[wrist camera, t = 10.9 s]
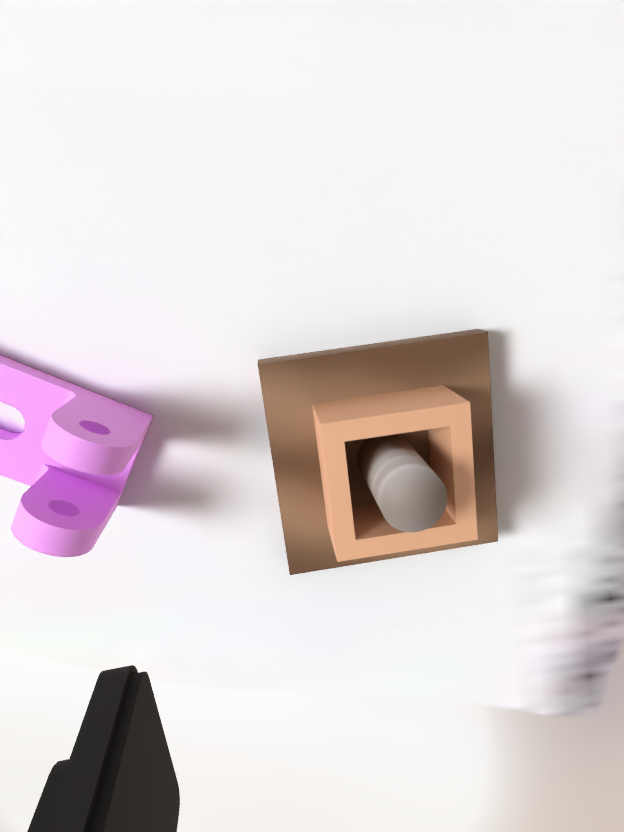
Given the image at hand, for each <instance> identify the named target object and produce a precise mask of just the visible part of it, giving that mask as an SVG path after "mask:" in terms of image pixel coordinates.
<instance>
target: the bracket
mask: <svg viewBox="0 0 624 832" xmlns="http://www.w3.org/2000/svg"><path fill="white" fill-rule="evenodd" d="M0 402H3V403H5V404H8V405H10V406H13V407H15V408H16V409H18V410H19V411H20V412H21V413H22V415H23V417H24V419H25V429H24V431H23V433H12V432H9V431H6V430H4V429H1V428H0V475H2V476H5V477H8V478H11V479H13V480H16V481H19V482H22V483H24V484H27V485H30V486H31V487H30V488H29V489H28V490H27V491H26V492H25V493H24V494H23V495H22V498H21V500H20V503H19V506H18V508H17V511H16V514H15V517H14V519H13V522H12V525H11V529H12V533H13V534H14V536H15V537H16V538H17V539H18V540H19V541H20V542H21V543H22V544H24V545H25V546H27V547H29V548H31V549H33V550H35V551H38V552H40V553H44V554H47V555H52V556H59V557H73V556H79V555H83V554H85V553H87V552H89V551H90V550H91V549H92V548H93V547H94V545H95V543H96V541H97V540H98V538H99V536H100V534H101V533H102V531H103V529H104V528H105V526H106V524H107V522H108V521H109V519H110V517H111V516H112V514H113V512H114V510H115V509H116V507H117V505H118V503H119V500H120V498H121V495H122V493H123V490H124V488H125V485H126V483H127V480H128V478H129V475H130V473H131V470H132V468H133V465H134V463H135V460H136V458H137V455H138V453H139V450H140V448H141V445H142V443H143V440H144V438H145V435H146V433H147V431H148V428H149V426H150V423H151V421H152V418H153V415H150V414H148V413H145V412H143V411H140V410H138V409H135V408H133V407H130V406H128V405H125V404H122V403H120V402H117V401H115V400H112V399H110V398H107V397H105V396H102V395H100V394H97V393H95V392H92V391H90V390H87V389H85V388H82V387H79V386H77V385H74V384H72V383H69V382H67V381H64V380H62V379H59V378H57V377H54V376H52V375H49V374H47V373H44V372H41V371H39V370H36V369H34V368H31V367H29V366H26V365H24V364H21V363H19V362H16V361H14V360H11V359H9V358H6V357H4V356H1V355H0Z"/></svg>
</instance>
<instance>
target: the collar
mask: <svg viewBox="0 0 624 832" xmlns="http://www.w3.org/2000/svg"><path fill="white" fill-rule="evenodd" d="M312 407H313V415H314V423H315V431H316V439H317V447H318V455H319V463H320V470H321V478H322V486H323V494H324V502H325V510H326V518H327V525H328V530H329V533H330V537H331V541H332V544H333V548H334V551H335V555H336V559H337V562H341V561H347V560H353V559H359V558H366V557H372V556H378V555H385V554H391V553H397V552H404V551H410V550H416V549H422V548H429V547H435V546H441V545H448V544H454V543H460V542H467V541H473V540H478V535H477V517H476V499H475V481H474V463H473V445H472V427H471V409H470V402H469V401H467V400H466V399H464V398H463V397H461V396H459V395H458V394H456V393H455V392H453V391H451V390H450V389H448V388H447V387H445V386H444V385H443V386H436V387H429V388H422V389H414V390H407V391H400V392H393V393H386V394H379V395H372V396H365V397H358V398H351V399H344V400H337V401H330V402H323V403H316V404H312ZM427 429H428V437H429V450H430V464H431V469H432V470H433V471H434V472H435V474H436V475H437V476H438V477H439V478H440V479H441V480H442V482H443V483H444V485H445V488H446V491H447V505H446V509H445V511H444V513H443V515H442V516H441V518H440V519H439V520H438V521H437V522H436V523H435V524H434V525H433V526H431V527H430V528H428V529H426V530H423V531H419V532H403V531H400V530H398V529H396V528H394V527H392V526H391V525H390V524H389V523H388V522H387V521H386V519H385V518H384V516H383V514H382V512H381V510H380V508H379V506H378V504H377V502H374V503H368V504H361V505H355V506H352V505H351V496H350V487H349V478H348V470H347V461H346V452H345V443H344V442H345V441H352V440H359V439H366V438H373V437H380V436H386V435H393V434H400V433H407V432H414V431H420V430H427Z"/></svg>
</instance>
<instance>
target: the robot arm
mask: <svg viewBox="0 0 624 832" xmlns="http://www.w3.org/2000/svg"><path fill="white" fill-rule="evenodd" d="M179 805H180V796H179V787H178V782H177V778H176V775H175V771H174V768H173V764H172V760H171V757H170V753H169V749H168V745H167V742H166V738H165V735H164V731H163V727H162V724H161V720H160V717H159V713H158V709H157V705H156V702H155V698H154V694H153V691H152V687H151V683H150V680H149V676H148V674H147V672H140V673H138V671H137V669H136V667H135V666H133V665H132V666H126V667H121V668H116V669H111V670H105V671H102V672H101V673H100V675H99V677H98V679H97V682H96V685H95V688H94V691H93V694H92V697H91V700H90V702H89V705H88V708H87V711H86V714H85V716H84V720H83V722H82V725H81V728H80V731H79V734H78V736H77V740H76V742H75V745H74V748H73V751H72V754H71V756H70V759H68V760H63V761H58V762H57V763H56V764H55V765H54V766H53V768H52V770H51V772H50V774H49V776H48V779H47V782H46V784H45V787H44V789H43V792H42V795H41V797H40V800H39V803H38V806H37V808H36V811H35V813H34V816H33V819H32V821H31V824H30V826H29V829H28V832H177V824H178V815H179Z"/></svg>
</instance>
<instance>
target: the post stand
mask: <svg viewBox="0 0 624 832" xmlns="http://www.w3.org/2000/svg"><path fill="white" fill-rule="evenodd" d="M258 368H259V375H260V381H261V388H262V394H263V401H264V408H265V414H266V421H267V427H268V434H269V440H270V447H271V454H272V460H273V467H274V473H275V480H276V486H277V493H278V500H279V506H280V513H281V519H282V526H283V532H284V539H285V546H286V552H287V559H288V565H289V572H290V575H293V574H299V573H305V572H311V571H318V570H324V569H330V568H336V567H342V566H348V565H355V564H361V563H367V562H373V561H379V560H385V559H392V558H398V557H404V556H410V555H416V554H422V553H429V552H435V551H441V550H447V549H453V548H459V547H466V546H472V545H478V544H484V543H490V542H496V541H498V531H497V511H496V491H495V470H494V450H493V429H492V409H491V389H490V368H489V348H488V332H485V331H482V330H478V329H475V330H468V331H461V332H454V333H446V334H439V335H432V336H425V337H418V338H411V339H404V340H396V341H389V342H382V343H375V344H368V345H361V346H354V347H347V348H339V349H332V350H325V351H318V352H311V353H304V354H297V355H290V356H282V357H275V358H268V359H261V360H258ZM443 385H444V386H445V387H447V388H448V389H450V390H451V391H453V392H455V393H456V394H458V395H459V396H461V397H463V398H464V399H466V400H467V401H469V402H470V409H471V427H472V445H473V463H474V481H475V499H476V517H477V535H478V540H473V541H467V542H460V543H454V544H448V545H441V546H435V547H429V548H422V549H416V550H410V551H404V552H397V553H391V554H385V555H378V556H372V557H366V558H359V559H353V560H347V561H341V562H337V559H336V555H335V551H334V548H333V544H332V541H331V537H330V533H329V530H328V525H327V518H326V510H325V502H324V494H323V486H322V478H321V470H320V463H319V455H318V447H317V439H316V431H315V423H314V415H313V407H312V404H316V403H323V402H330V401H337V400H344V399H351V398H358V397H365V396H372V395H379V394H386V393H393V392H400V391H407V390H414V389H422V388H429V387H436V386H443ZM344 443H345V452H346V461H347V470H348V478H349V487H350V496H351V505H352V506H355V505H361V504H368V503H374V502H377V504H378V506H379V508H380V510H381V512H382V514H383V516H384V518H385V519H386V521H387V522H388V523H389V524H390V525H391V526H392V527H394V528H396V529H398V530H400V531H403V532H419V531H423V530H426V529H428V528H430V527H431V526H433V525H434V524H435V523H436V522H437V521H438V520H439V519H440V518H441V516H442V515H443V513H444V511H445V509H446V505H447V491H446V488H445V485H444V483H443V482H442V480H441V479H440V478H439V477H438V476H437V475H436V474H435V472H434V471H433V470H432V469H431V464H430V450H429V437H428V429H427V430H420V431H414V432H407V433H400V434H393V435H386V436H380V437H373V438H366V439H359V440H352V441H345V442H344Z"/></svg>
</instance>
